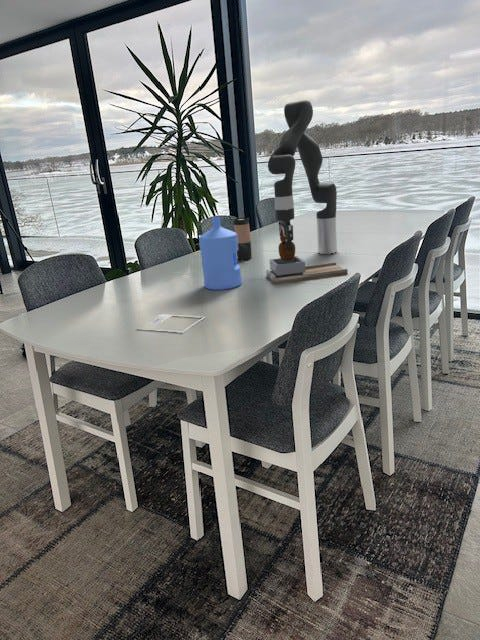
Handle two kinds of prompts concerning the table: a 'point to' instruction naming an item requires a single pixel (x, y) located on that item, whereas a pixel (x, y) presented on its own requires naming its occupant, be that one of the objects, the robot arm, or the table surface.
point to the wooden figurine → (283, 252)
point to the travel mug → (243, 238)
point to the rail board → (309, 273)
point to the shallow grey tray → (287, 266)
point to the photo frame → (167, 316)
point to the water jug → (220, 258)
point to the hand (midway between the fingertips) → (287, 248)
